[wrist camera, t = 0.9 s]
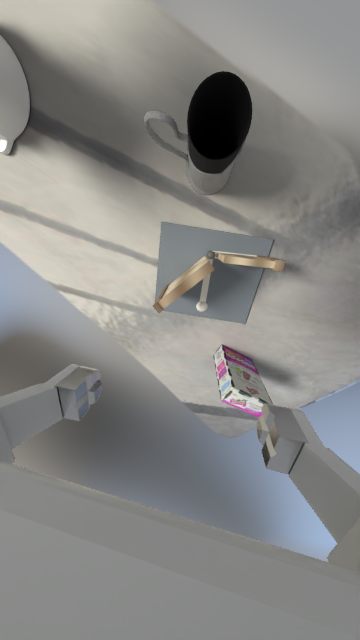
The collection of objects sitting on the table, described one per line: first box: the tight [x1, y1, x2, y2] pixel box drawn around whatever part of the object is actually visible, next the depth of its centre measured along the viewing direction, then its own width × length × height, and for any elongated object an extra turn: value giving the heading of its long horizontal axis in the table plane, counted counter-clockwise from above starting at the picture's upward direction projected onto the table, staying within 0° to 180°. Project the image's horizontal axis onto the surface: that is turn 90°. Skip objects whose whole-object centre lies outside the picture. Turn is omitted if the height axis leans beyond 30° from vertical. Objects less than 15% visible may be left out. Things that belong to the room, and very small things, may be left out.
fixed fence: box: [207, 251, 286, 272], centre depth 35 cm, size 13×2×11 cm, turn 84°
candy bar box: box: [214, 345, 273, 418], centre depth 45 cm, size 11×5×16 cm, turn 62°
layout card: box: [154, 222, 274, 324], centre depth 42 cm, size 25×21×1 cm
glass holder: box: [144, 72, 252, 195], centre depth 27 cm, size 9×14×15 cm, turn 80°
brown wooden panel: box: [153, 256, 215, 313], centre depth 36 cm, size 12×2×14 cm, turn 129°
